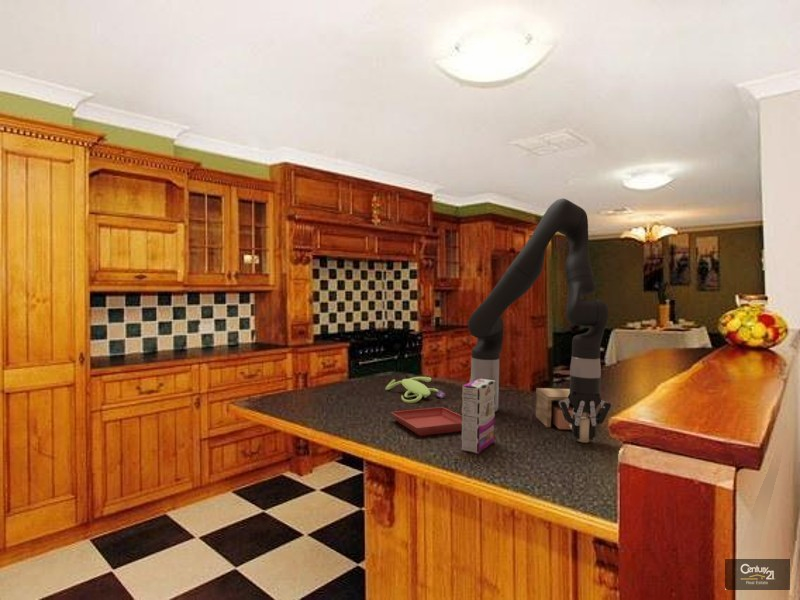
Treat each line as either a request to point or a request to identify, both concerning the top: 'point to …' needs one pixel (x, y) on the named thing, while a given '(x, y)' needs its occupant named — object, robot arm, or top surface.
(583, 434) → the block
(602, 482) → the top surface
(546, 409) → the shelf cubby
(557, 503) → the top surface
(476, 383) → the candy bar box
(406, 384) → the figurine
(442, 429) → the plant saucer
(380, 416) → the top surface
